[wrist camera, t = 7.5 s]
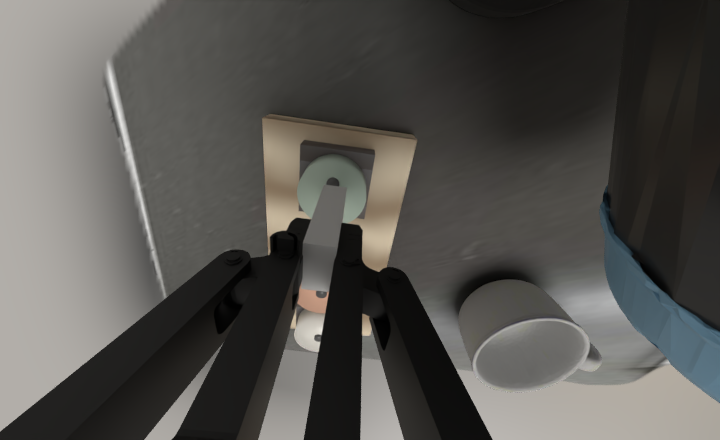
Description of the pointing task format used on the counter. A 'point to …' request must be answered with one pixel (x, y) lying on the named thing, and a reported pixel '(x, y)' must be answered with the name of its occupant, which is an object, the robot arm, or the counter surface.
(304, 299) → the button three dot
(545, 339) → the teacup
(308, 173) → the button two dot
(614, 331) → the counter surface
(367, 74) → the counter surface
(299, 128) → the button board
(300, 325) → the button one dot
